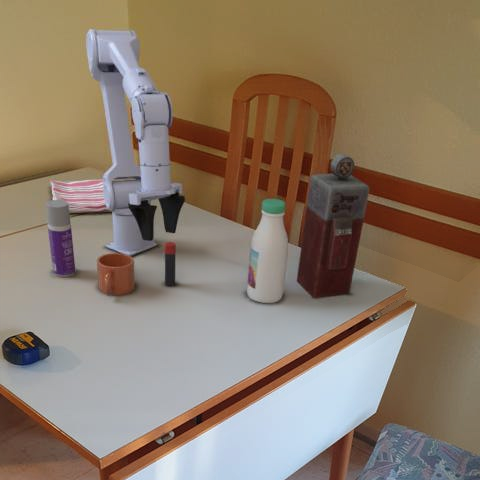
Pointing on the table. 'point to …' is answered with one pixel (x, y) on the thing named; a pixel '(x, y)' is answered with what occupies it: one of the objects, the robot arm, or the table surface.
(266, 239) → the milk bottle
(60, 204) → the container
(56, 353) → the table surface
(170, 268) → the marker
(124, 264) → the orange coffee mug
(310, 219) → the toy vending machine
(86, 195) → the dish towel
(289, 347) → the table surface
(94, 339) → the table surface
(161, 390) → the table surface
